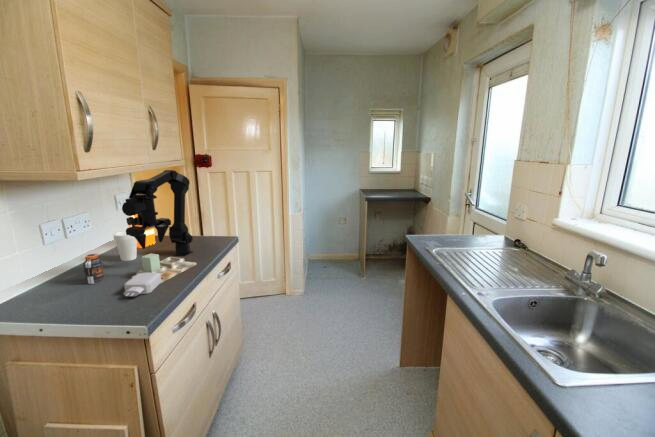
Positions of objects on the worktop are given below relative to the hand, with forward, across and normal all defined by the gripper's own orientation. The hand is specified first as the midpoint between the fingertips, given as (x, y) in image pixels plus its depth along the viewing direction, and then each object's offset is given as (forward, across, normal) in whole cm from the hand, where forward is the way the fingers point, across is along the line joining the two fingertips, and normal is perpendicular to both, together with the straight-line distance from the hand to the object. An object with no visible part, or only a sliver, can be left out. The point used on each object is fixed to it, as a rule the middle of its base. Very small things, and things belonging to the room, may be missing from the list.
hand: (152, 245), depth 133 cm
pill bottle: (+12, +17, -14) cm, 25 cm away
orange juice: (+12, -26, -34) cm, 45 cm away
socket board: (+12, 0, +5) cm, 13 cm away
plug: (+11, +5, +3) cm, 12 cm away
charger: (+12, +19, +11) cm, 25 cm away
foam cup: (+12, -7, -24) cm, 27 cm away
